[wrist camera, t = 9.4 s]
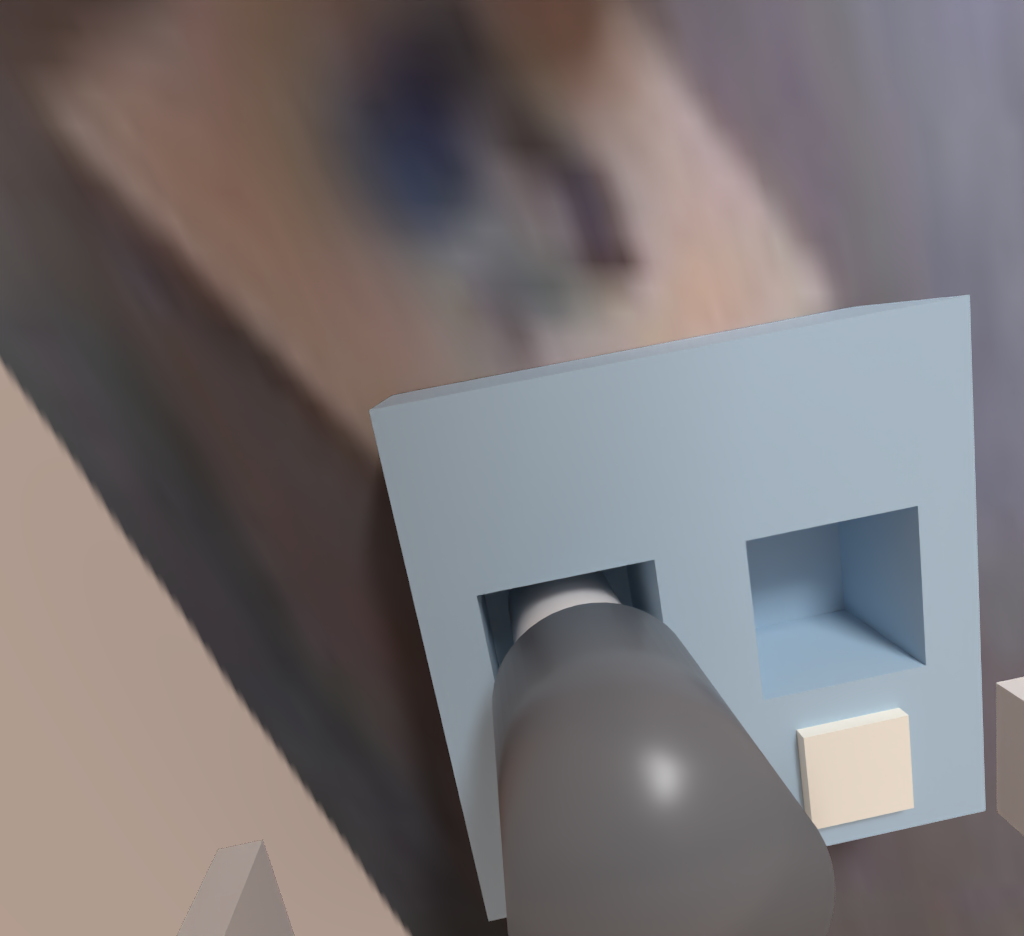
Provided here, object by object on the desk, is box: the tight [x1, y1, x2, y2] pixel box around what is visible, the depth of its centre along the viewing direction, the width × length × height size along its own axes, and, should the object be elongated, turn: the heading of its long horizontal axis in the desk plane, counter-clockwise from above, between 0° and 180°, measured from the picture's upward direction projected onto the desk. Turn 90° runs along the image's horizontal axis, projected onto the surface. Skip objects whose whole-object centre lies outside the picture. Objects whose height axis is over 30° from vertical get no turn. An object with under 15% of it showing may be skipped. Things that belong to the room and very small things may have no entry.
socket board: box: [369, 295, 986, 921], centre depth 20 cm, size 16×16×5 cm
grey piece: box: [492, 571, 835, 936], centre depth 15 cm, size 5×5×12 cm
